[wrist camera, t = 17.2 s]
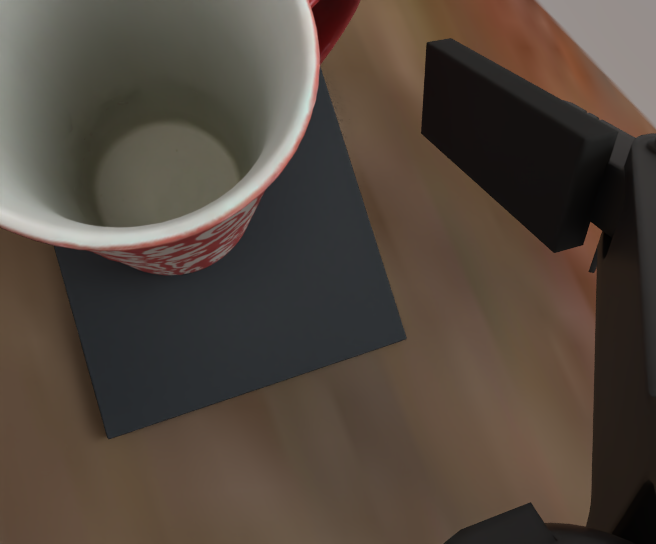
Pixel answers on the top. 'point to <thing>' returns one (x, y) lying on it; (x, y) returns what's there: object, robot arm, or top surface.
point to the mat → (240, 298)
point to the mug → (153, 119)
